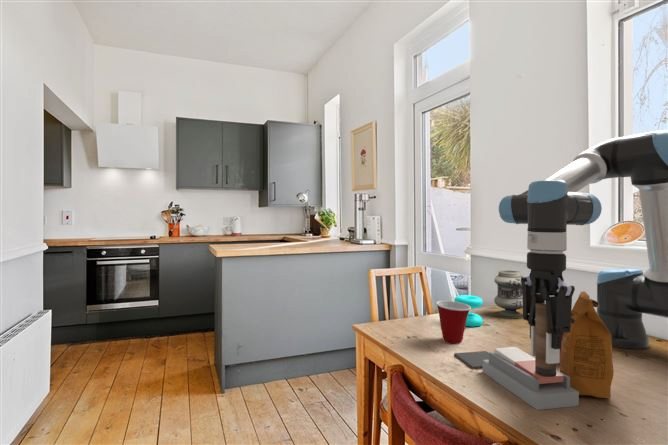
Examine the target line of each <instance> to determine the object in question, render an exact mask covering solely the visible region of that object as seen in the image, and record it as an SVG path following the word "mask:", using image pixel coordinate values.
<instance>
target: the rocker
mask: <svg viewBox="0 0 668 445" xmlns="http://www.w3.org/2000/svg"><path fill="white" fill-rule="evenodd" d="M493 353H494V354H496V355H498V356H499V357H501V358H503V359H504V360H506V361H508V362H509V363H511V364H513V365H514V366H516V367H518V368H519V369H521V370H523V371H524V372H526V373H528V374H529V375H531V376H533V377H535V378H536V379H538V380H539V384H546V383H557V382H563V379H564V375H562V374H560V373H559V372H560V371H559V372H557V371H558V370H557V371H556V376H552V377H549V376H543V375H540V374H538V373H536V372H535V357H534V356H532V355H531V354H528V353H527V352H525V351H524V350H522V349H521V348H518V347H517V346H509V347H508V346H507V347H496V348H494V352H493Z"/></svg>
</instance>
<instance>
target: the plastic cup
mask: <svg viewBox="0 0 668 445" xmlns="http://www.w3.org/2000/svg"><path fill="white" fill-rule="evenodd" d="M436 306H437V310H438V315H439V316H438V317H439V322H440V323H439V324H440V329H441V334H442V338H443V341H444V342H445V343H448V344H461V343H462V342H463V339H464V334H465V330H466V326H465V325H466V320H467V316H468V313H470V310H472V308H471V307H470V306H469V305H467V304H463V303H460V302H455V301H454V300H438V301H436Z"/></svg>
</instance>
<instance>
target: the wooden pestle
mask: <svg viewBox="0 0 668 445" xmlns="http://www.w3.org/2000/svg"><path fill="white" fill-rule="evenodd" d="M555 327H556V326H555ZM546 330H549V324H548V316H547V308H546V301H545V302H542V303H535V356H534V358H535V372H536V373H538V374H540V375H543V376H549V377H552V376H556V370H557V363H554V364H548V363H546Z"/></svg>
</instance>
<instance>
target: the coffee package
mask: <svg viewBox="0 0 668 445" xmlns="http://www.w3.org/2000/svg"><path fill="white" fill-rule="evenodd" d="M598 306H599V304H598V302H597V300H594V299H592V298H591V297H590V295H589V294H588V293H587V292H586V291H580V293H579V295H578V298H577V299H576V301H575V303H574V304H573V306H572V309H571V330H570V332H568V333H564V334H563V338H562V342H561V354H560V363H559V372H561V373H563V374H565V375H567V376H569V377H570V387H571V388H573V389H575V390H577V391H579V396H590V397H594V398H598V399H599V398H600V399H605V398H606V399H610V398H611V397H612V396H611V395H612V394H611V392H612V391H611V388H612V387H611V386H612V382H613V378H614V371H615V370H614V365H613V364H614V362H613V346H612V340H611V334H610V332H609V330H608V329H607V327H606V325H605V324H604V323H603V321H602V320H601V319H600V317H599V316H598V314H597V310H596V309H595V308H597V307H598Z"/></svg>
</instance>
